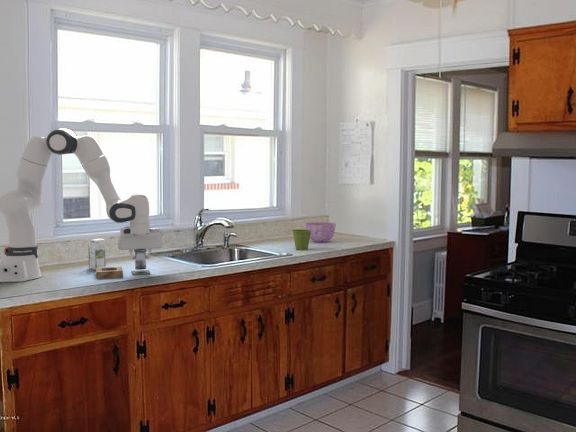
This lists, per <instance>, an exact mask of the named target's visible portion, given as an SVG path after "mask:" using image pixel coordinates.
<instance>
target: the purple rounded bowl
mask: <svg viewBox="0 0 576 432" xmlns="http://www.w3.org/2000/svg"><path fill="white" fill-rule="evenodd" d="M336 227H337V223H335V222H328V221H326V222H325V221H323V222H322V221H321V222H320V221H316V222H315V221H313V222H306V223H305V230H312V232H311V235H310V239H309V240H312V241H313V242H315V243H327V242H328V241H330V240H331V239H333V237H334V234H335V232H336V231H335V230H336Z"/></svg>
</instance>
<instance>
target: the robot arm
mask: <svg viewBox="0 0 576 432" xmlns="http://www.w3.org/2000/svg"><path fill="white" fill-rule="evenodd" d="M53 154H55V155H58V156H59V155H61V156H63V155H70V154H74V155H75V157H77V159H78V161H79V163H80V164H81V166H82V168H83V170H84V172H85V173H86V175H87V176H88V178H90V180H92V182H94V184H95V185H96V186H97V187H98V189H99V191H100V194H101V195H102V197H103V199H104V202H105V204H106V207H105V208H106V210H105V211H106V214H107V217H108V218H109V219H110V220H111V221H113V222H115V223H117V224H123V223H126V222H129V225H127V226H124V227H121V228H120V229H119V233H120V234H119V235H118V238H117V245H116V247H117V250H119V251H128V253H129V254H130V256H131V260H135V254H133V253H132V252H133V251H134V250H135V249H147V251H148V252H147V253H146V260H147V259H148V260H149V259H150V254H151V253H152V251H153V249H154V250H155V249H157V250H158V249H162V248H163V245H164V244H163V235H164V232H163V230H162V229H160V228H151V227H150V226H151V225H150V224H151V222H150V219H149V216H150V205H149V204H150V201H149V199H148V197H147V196H146V195H144V194H138V193H131V194H130V195H129V196H127V197H125V198H124V199H121V197H120V196H119V195H118V193H117V191H116V189H115V187H114V185H113V183H112V180H111V166H110V163H109V161H108V158H107V156H106V154H105V152H104V150H103V148H102V147H101V144H100V143H98V141H97V140H96V138H95V137H94V136H93V135H89V134H87V135H82V136H78V135H77V134H76V132H75V131H73V130H72V129H70V128H67V127H60V128H56V129H55V130H52V131H50V132H49V134H48V135H47V136H46V137H44V136H41V135H35V136H32V137H30V138H29V140H28V142H27V144H26V146H25V148H24V149H23V152H22V155H21V157H20V160H19V164H18V167H17V170H16V177H17V188H16V190H10V191H7V192H5V193H3V194H2V195H1V196H0V212H1V213H2V215H3V217H4V219H5V223H6V225H7V230H8V241H9V242H8V245H9V246H5V247H4V251H3V252H4V256H2V257H1V258H0V283H8V282H9V283H10V282H12V283H14V282H15V283H16V282H26V281H30V280H36V279H40V278H41V277H42V272H41V270H40V264H39V246H38V245H37V244H38V243H37V228H36V226H35V225H34V223H33V221H32V217H31V214H34V213H35V212H38V211H39V210H40V209H41V208H42V207H43V205H44V199H43V195H42V194H43V193H42V192H43V183H44V179H45V176H46V173H47V169H48V167H49V163H50V160H51V157H52V155H53Z"/></svg>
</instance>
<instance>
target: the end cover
mask: <svg viewBox="0 0 576 432" xmlns="http://www.w3.org/2000/svg"><path fill="white" fill-rule="evenodd" d="M147 251H148V249H135V250H133V252H134V255H135V259H134V269H135V270H136V271H137V270H147V259H146V254H147Z"/></svg>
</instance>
